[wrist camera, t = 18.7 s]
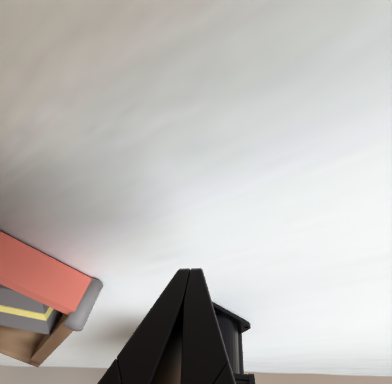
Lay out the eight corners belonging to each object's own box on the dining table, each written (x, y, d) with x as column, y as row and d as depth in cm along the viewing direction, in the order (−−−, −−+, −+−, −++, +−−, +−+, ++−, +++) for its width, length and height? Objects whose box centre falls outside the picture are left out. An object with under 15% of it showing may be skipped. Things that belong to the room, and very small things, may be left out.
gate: (105, 283, 29) (83, 331, 25) (98, 290, 30) (75, 338, 26) (-28, 214, 25) (-85, 256, 21) (-32, 225, 26) (-87, 268, 22)
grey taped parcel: (59, 269, 29) (40, 296, 26) (65, 308, 34) (49, 336, 31) (6, 258, 29) (-19, 284, 26) (19, 298, 34) (-1, 325, 31)
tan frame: (105, 280, 29) (88, 316, 26) (54, 337, 38) (35, 370, 34) (-39, 206, 25) (-84, 237, 21) (-60, 289, 34) (-94, 321, 30)
